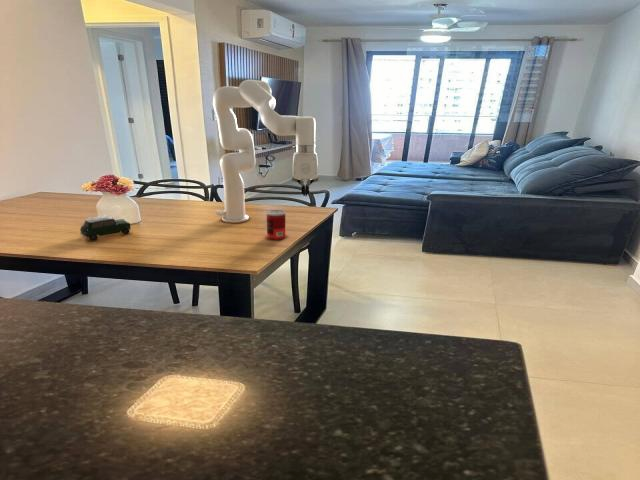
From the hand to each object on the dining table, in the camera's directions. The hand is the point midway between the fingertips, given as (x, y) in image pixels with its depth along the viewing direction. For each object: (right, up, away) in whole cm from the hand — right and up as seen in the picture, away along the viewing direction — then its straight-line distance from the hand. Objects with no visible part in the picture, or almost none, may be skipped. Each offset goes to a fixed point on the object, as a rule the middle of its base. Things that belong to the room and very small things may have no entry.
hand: (305, 195), depth 155 cm
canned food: (-12, -17, +6) cm, 22 cm away
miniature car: (-82, -16, +3) cm, 84 cm away
